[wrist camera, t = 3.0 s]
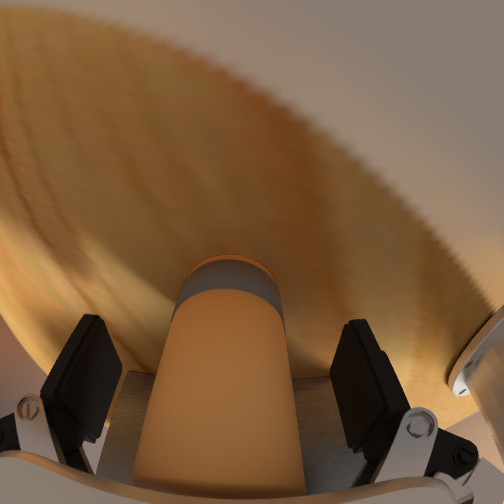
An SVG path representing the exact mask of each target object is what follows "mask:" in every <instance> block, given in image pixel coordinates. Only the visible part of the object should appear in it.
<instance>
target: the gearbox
mask: <svg viewBox="0 0 504 504" xmlns="http://www.w3.org/2000/svg"><path fill="white" fill-rule="evenodd" d="M155 378H156V375H153V374H145V373H138V372H131V371H128V372H127V375H126V377H125V380H124V383H123V386H122V389H121V392H120V395H119V397H118V400H117V403H116V406H115V409H114V413H113V416H112V419H111V422H110V425H109V428H108V432H107V435H106V438H105V442H104V446H103V449H102V452H101V456H100V460H99V463H98V467H97V471H96V475H95V476H98V477H101V478H104V479H107V480H111V481H114V482H118V483H121V484H125V485H129V486H133V487H137V486H135V485H134V484H133V483H132V482H131V479H132V474H133V469H134V464H135V459H136V454H137V450H138V445H139V441H140V437H141V432H142V428H143V424H144V420H145V416H146V412H147V408H148V404H149V400H150V396H151V393H152V389H153V385H154V381H155ZM292 386H293V393H294V401H295V408H296V415H297V423H298V430H299V438H300V445H301V453H302V461H303V469H304V478H305V486H306V495H305V496H308V495H315V494H322V493H328V492H334V491H340V490H345V489H350V487H351V486H352V484H353V482H354V481H355V479H356V477H357V475H358V474H359V472H360V470H361V468H362V466H363V465H364V463H365V461H366V460H365V458H364V454H363V452H361V453H357V454H354V453H353V449H349V447H348V445H347V441H346V437H345V433H344V429H343V425H342V421H341V417H340V413H339V409H338V405H337V401H336V398H335V394H334V390H333V386H332V383H331V379H330V377H319V378H306V379H292ZM137 488H138V487H137Z"/></svg>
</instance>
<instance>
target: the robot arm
mask: <svg viewBox="0 0 504 504" xmlns="http://www.w3.org/2000/svg"><path fill="white" fill-rule="evenodd" d="M121 373H122V364H121V361H120V359H119V357H118V355H117V352H116V350H115V348H114V345H113V343H112V340H111V338H110V336H109V333H108V331H107V328H106V325H105V323H104V321H103V320H102V319H101V318H100V316H98V315H92V314H84V315H83V317H82V318H81V320H80V321H79V323H78V325H77V326H76V328H75V329H74V331H73V333H72V334H71V336H70V338H69V339H68V341H67V343H66V344H65V346H64V348H63V350H62V351H61V353H60V355H59V357H58V358H57V360H56V362H55V364H54V366H53V368H52V369H51V371H50V373H49V375H48V377H47V379H46V381H45V383H44V385H43V387H42V389H41V391H40V393H41V394H40V396H38V395H37V394H35V393H26V394H24V395H22V396H21V397H20V398H18V400H17V402H16V403H15V407H14V413H12V414H10V415H8V416H5V417H3V418H1V419H0V504H502V502H503V500H504V473H502V472H501V471H500V470H499V469H497V468H496V467H495V466H494V465H492V464H491V463H490V462H489V461H487V460H486V459H485V458H484V457H482V458H479V455H478V450H477V447H476V446H475V445H474V444H473V443H472V442H471V441H469V440H466V439H464V438H461V437H459V436H457V435H454V434H452V433H450V432H447V431H445V430H443V429H440V428H438V421H437V418H436V417H435V415H434V414H433V413H432V412H431V411H430V410H428V409H426V408H421V407H417V408H413V409H411V407H410V405H409V403H408V400H407V398H406V396H405V393H404V391H403V389H402V387H401V384H400V382H399V380H398V378H397V375H396V373H395V371H394V369H393V367H392V365H391V363H390V360H389V358H388V356H387V354H386V353H385V352H384V351H383V350H381V349H380V347H379V345H378V343H377V341H376V339H375V337H374V335H373V332H372V330H371V328H370V326H369V324H368V322H367V321H366V319H355V320H350V321H349V323H348V324H345V325H344V328H343V331H342V334H341V338H340V341H339V344H338V347H337V350H336V353H335V356H334V359H333V362H332V365H331V368H330V379H331V383H332V386H333V390H334V394H335V398H336V401H337V405H338V409H339V413H340V417H341V421H342V425H343V429H344V433H345V437H346V441H347V445H348V447H349V449H353V453H354V454H357V453H361V452H363V454H364V458H365V460H366V461H365V463H364V465H363V466H362V468H361V470H360V472H359V474H358V475H357V477H356V479H355V481H354V482H353V484H352V486H351V487H350V489H345V490H340V491H334V492H328V493H322V494H315V495H308V496H300V497H290V498H278V499H255V500H235V499H212V498H200V497H190V496H182V495H175V494H168V493H162V492H157V491H152V490H147V489H142V488H137V487H133V486H129V485H125V484H121V483H118V482H114V481H111V480H107V479H104V478H101V477H98V476H95V475H94V473H93V470H92V468H91V466H90V464H89V461H88V459H87V457H86V454H85V452H84V450H83V447H82V444H83V441H87V442H91V443H95V442H96V439H97V438H99V437H100V436H101V433H102V429H103V426H104V423H105V420H106V417H107V413H108V410H109V407H110V404H111V401H112V398H113V396H114V393H115V390H116V387H117V384H118V381H119V379H120V376H121ZM448 385H449V388H450V390H451V392H452V393H453V395H455V396H465V395H469V394H471V395H472V396H473V398H474V400H475V402H476V404H477V406H478V408H479V410H480V412H481V414H482V416H483V418H484V420H485V422H486V424H487V426H488V428H489V430H490V433H491V435H492V437H493V439H494V441H495V444H496V446H497V449H498V451H499V453H500V456H501V458H502V461H503V464H504V305H503V306H502V307H501V308H500V309H499V310H498V311H497V312H496V313H495V314H494V315H493V316H492V317H491V318H490V319H489V321H488V322H487V323H486V324H485V325H484V326H483V327H482V328H481V329H480V331H479V332H478V333H477V334H476V336H475V337H474V338H473V339H472V340H471V342H470V343H469V344H468V346H467V347H466V348H465V350H464V351H463V352H462V354H461V356H460V357H459V358H458V360H457V362H456V363H455V365H454V367H453V369H452V371H451V374H450V376H449V381H448Z"/></svg>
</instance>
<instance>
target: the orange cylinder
mask: <svg viewBox="0 0 504 504" xmlns="http://www.w3.org/2000/svg"><path fill="white" fill-rule="evenodd" d="M131 482H132V483H133V484H134V485H135V486H137V487H138V488H142V489H147V490H152V491H157V492H162V493H168V494H175V495H182V496H190V497H200V498H212V499H235V500H255V499H278V498H290V497H300V496H305V495H306V486H305V478H304V469H303V461H302V453H301V445H300V438H299V430H298V423H297V415H296V408H295V401H294V393H293V386H292V379H291V372H290V366H289V359H288V352H287V346H286V339H285V324H284V318H283V312H282V305H281V299H280V293H279V290H278V287H277V284H276V282H275V280H274V278H273V276H272V275H271V273H270V272H269V271H268V270H267V269H266V268H265V267H264V266H263V265H261V264H260V263H258V262H256V261H255V260H252V259H250V258H247V257H244V256H239V255H230V254H228V255H218V256H214V257H211V258H208V259H206V260H204V261H202V262H200V263H199V264H198V265H196V266H195V267H194V268H193V269H192V270H191V271H190V273H189V274H188V276H187V278H186V280H185V281H184V284H183V286H182V289H181V292H180V295H179V298H178V301H177V304H176V307H175V310H174V313H173V316H172V320H171V327H170V330H169V333H168V336H167V340H166V343H165V346H164V350H163V353H162V357H161V360H160V364H159V367H158V371H157V374H156V378H155V381H154V385H153V389H152V393H151V396H150V400H149V404H148V408H147V412H146V416H145V420H144V424H143V428H142V432H141V437H140V441H139V445H138V450H137V454H136V459H135V464H134V469H133V474H132V479H131Z"/></svg>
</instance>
